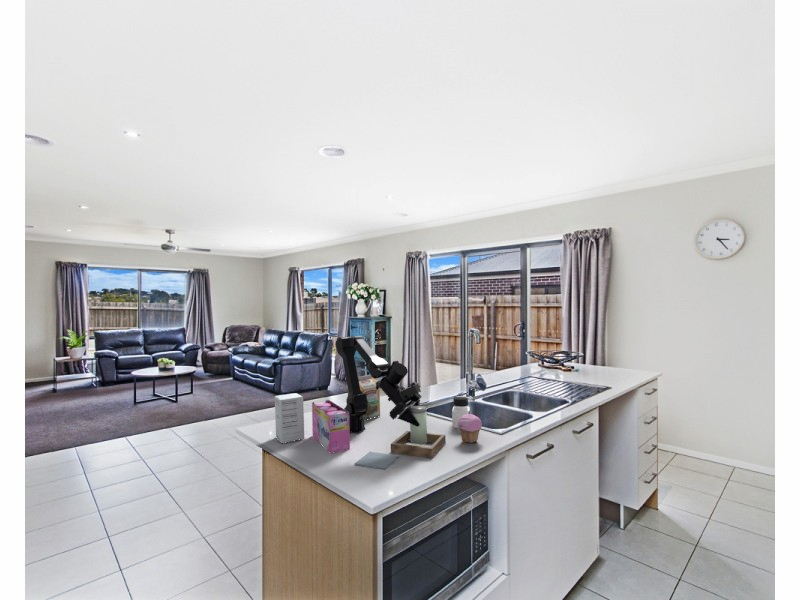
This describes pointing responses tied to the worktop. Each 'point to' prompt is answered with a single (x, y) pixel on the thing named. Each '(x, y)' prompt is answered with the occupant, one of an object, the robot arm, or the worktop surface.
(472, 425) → the cupcake
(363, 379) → the milk carton
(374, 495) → the worktop surface
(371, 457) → the rubber mat
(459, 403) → the medicine bottle
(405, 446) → the walnut frame
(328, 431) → the gum box
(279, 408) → the supplement box
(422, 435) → the plastic jar
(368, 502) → the worktop surface
